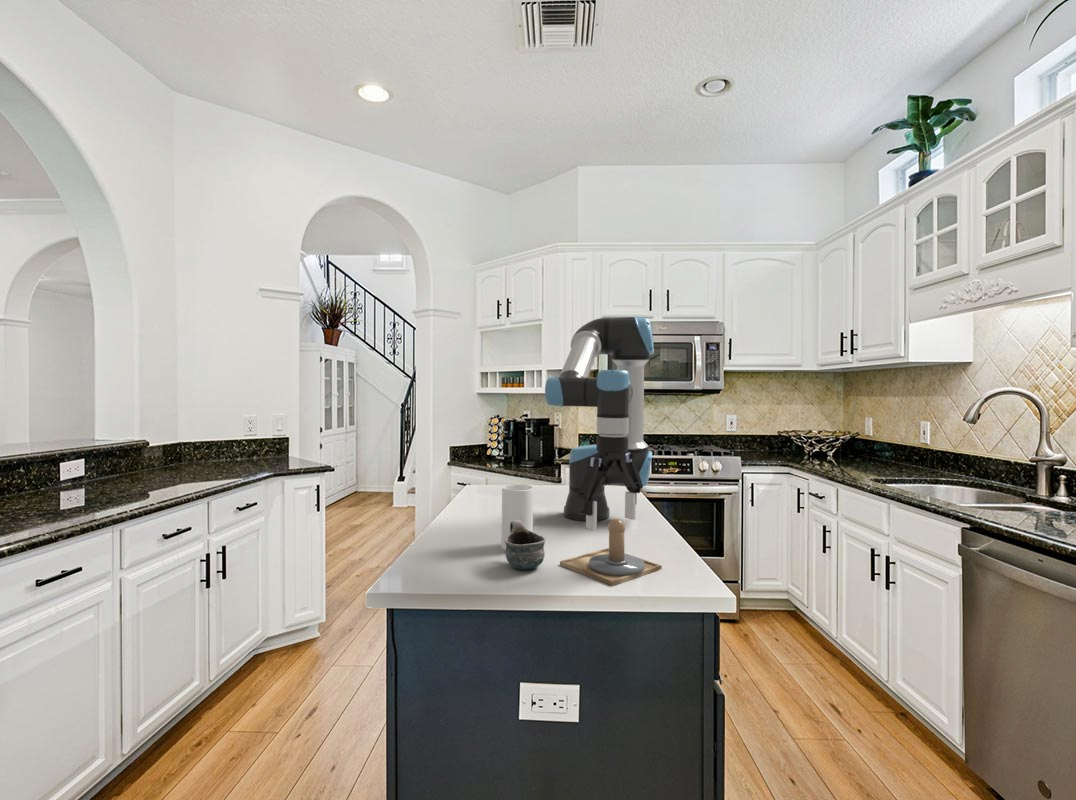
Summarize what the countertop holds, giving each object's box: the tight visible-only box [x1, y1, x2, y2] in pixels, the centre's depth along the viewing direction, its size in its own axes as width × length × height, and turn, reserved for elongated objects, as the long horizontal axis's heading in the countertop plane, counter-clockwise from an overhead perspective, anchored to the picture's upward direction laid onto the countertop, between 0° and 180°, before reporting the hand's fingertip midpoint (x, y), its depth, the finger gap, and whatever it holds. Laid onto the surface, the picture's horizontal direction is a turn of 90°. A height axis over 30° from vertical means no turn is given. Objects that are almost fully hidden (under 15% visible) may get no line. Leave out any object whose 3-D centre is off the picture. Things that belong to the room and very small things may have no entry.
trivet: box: [559, 547, 663, 587], centre depth 129 cm, size 17×17×1 cm
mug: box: [505, 520, 547, 570], centre depth 129 cm, size 10×12×10 cm
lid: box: [589, 518, 645, 576], centre depth 127 cm, size 13×13×11 cm
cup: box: [501, 484, 534, 551], centre depth 143 cm, size 8×8×16 cm
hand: (611, 523), depth 129 cm, fingers open, 13 cm apart
